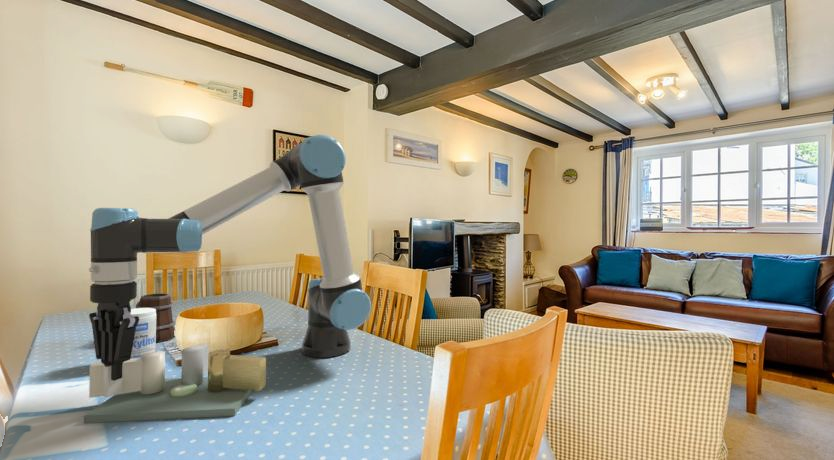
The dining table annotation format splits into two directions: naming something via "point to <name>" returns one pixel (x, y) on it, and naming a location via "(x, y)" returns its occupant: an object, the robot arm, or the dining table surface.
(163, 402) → the base
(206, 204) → the robot arm
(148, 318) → the supplement tub
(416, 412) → the dining table surface
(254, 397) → the dining table surface
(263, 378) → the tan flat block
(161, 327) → the mug
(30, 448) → the dining table surface
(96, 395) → the cream piece
